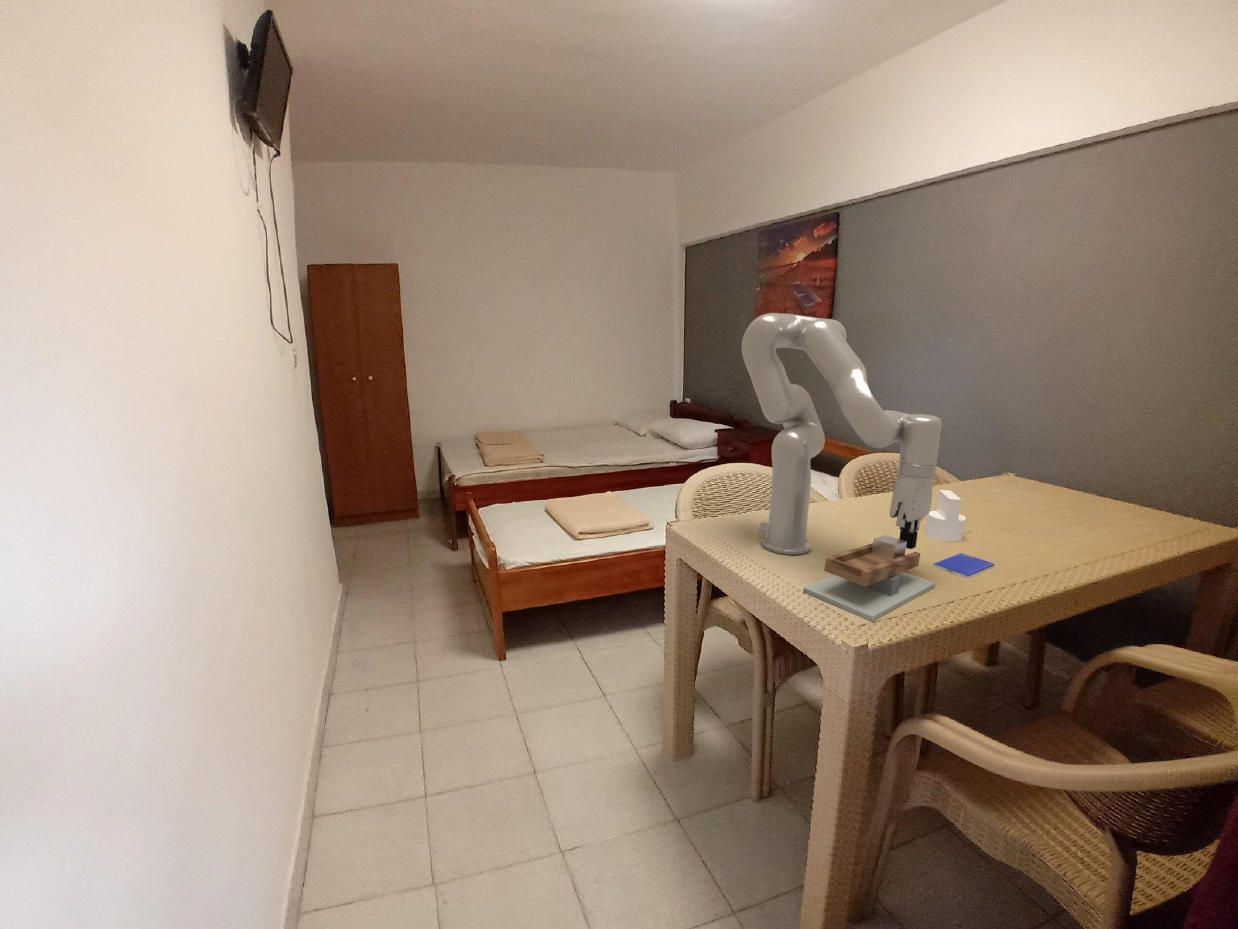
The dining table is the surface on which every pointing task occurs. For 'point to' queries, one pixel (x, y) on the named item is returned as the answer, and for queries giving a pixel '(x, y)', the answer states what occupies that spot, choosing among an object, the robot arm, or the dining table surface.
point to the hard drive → (963, 565)
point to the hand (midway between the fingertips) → (907, 546)
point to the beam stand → (869, 593)
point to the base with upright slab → (946, 518)
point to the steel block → (888, 548)
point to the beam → (868, 565)
